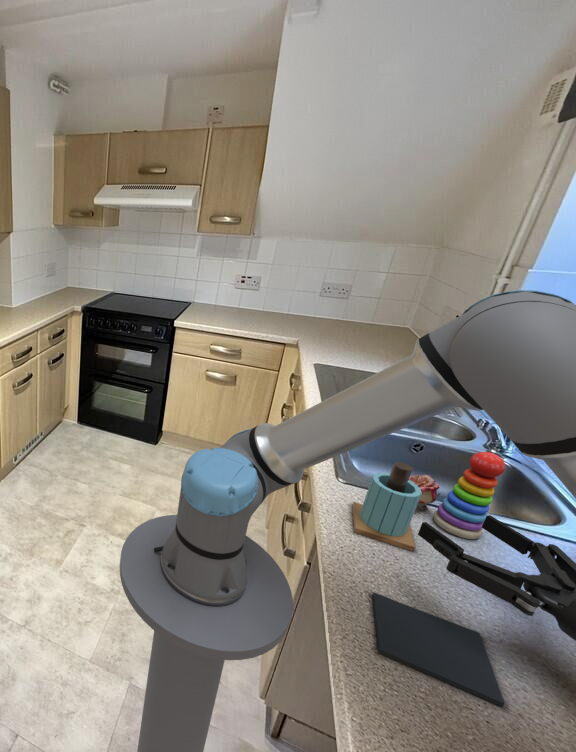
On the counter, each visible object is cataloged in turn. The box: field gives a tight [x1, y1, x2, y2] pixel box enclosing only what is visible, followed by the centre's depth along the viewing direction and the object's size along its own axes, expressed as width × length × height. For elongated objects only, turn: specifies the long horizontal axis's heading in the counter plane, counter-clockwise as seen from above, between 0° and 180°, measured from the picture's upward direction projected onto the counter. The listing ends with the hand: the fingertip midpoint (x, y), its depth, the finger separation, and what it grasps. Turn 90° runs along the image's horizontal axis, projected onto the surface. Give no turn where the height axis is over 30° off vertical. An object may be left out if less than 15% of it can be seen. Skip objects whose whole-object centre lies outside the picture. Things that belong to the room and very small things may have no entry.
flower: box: [409, 473, 441, 511], centre depth 95 cm, size 10×9×8 cm
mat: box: [371, 592, 506, 708], centre depth 64 cm, size 14×12×1 cm
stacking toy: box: [432, 451, 506, 540], centre depth 86 cm, size 8×8×19 cm
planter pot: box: [360, 472, 422, 536], centre depth 87 cm, size 8×8×10 cm
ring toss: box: [351, 461, 416, 552], centre depth 86 cm, size 10×10×16 cm
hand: (453, 524), depth 74 cm, fingers open, 13 cm apart
